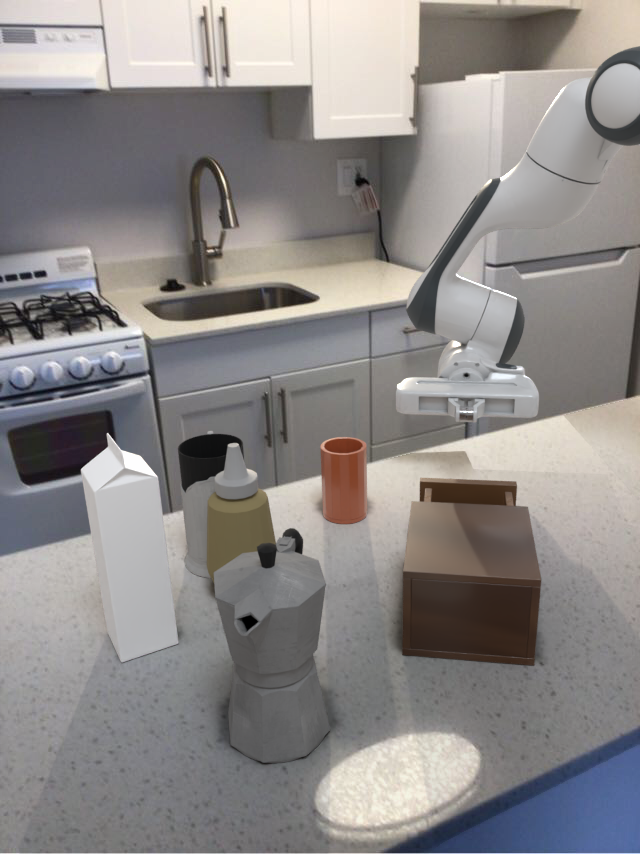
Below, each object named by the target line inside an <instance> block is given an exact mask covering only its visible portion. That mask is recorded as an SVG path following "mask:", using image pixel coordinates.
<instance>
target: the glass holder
mask: <svg viewBox="0 0 640 854" xmlns="http://www.w3.org/2000/svg"><path fill="white" fill-rule="evenodd" d="M231 443H238V444H239V447H240V450H241V453H242V456H243V459H244V460H245V451H244V442H243V440H242V439H241V438H239V437H238V436H236V435H233V434H227V433H214V431H213V430H207V434H201V435H197V436H193V437H190V438H188V439H185V440H184V441H182V442H181V443H180V444H179V445H178V447H177V455H178V462H179V463H178V464H179V472H180V473H179V474H180V480H181V481H180V482H179V485H180V486H179V487H180V494H181V496H180V497H181V504H182V512H183V513H182V514H183V524H184V530H185V541H186V549H187V552H186V556H185V560H184V565H185V567H186V569H187V570H188V572H190V573H191V574H193V575H195V576H198V577H202V578H207V579H211V577H210V575H209V573H208V569H207V507H208V499H209V497H210V496H211V495H212V494H213V493H214V492H216V491H215V483H214V478H215V477H216V475H217V474H218V473H220V472H222V471H224V468H225V461H226V454H227V448H228V444H231Z"/></svg>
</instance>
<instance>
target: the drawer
mask: <svg viewBox="0 0 640 854" xmlns="http://www.w3.org/2000/svg"><path fill="white" fill-rule="evenodd" d="M517 493H518V482H517V481H515V480H514V481H513V480H511V481H510V480H490V479H467V478H466V479H464V478H444V477H442V478H441V477H439V478H438V477H420V478H419V502H440V503H462V504H484V505H506V506H517Z"/></svg>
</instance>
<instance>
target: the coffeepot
mask: <svg viewBox="0 0 640 854" xmlns="http://www.w3.org/2000/svg"><path fill="white" fill-rule="evenodd" d="M303 552H304V538H303V536H302V534H300V532H299V530H297V529H296V528H293V527H290V528H287V529H285V530H284V531H283V533H282V536H280V537H278V539H277V541H276V544H272V543H262V544H260V545H259V546H257V552H249V553H242V554H241V555H239V556H238V557H236V558H235V559H233V560H232V561H230V562H229V563H227V564H226V565H224V566H223V567H221V568H220V569H218V570H217V571H215V572H214V583H213V585H214V597H215V602H216V606H217V610H218V613H219V617H220V620H221V625H222V628H223V631H224V636H225V639H226V643H227V646H228V651H229V654H230V658H231V661H232V662H233V664H232V665H233V666H232V674H231V683H230V693H229V694H230V695H229V703H228V713H227V718H228V730H229V731H228V732H229V744H230V746H232V747H233V748H234V749H236V750H237V751H239V752H240V753H241V754H243V756H245V757H247V758H248V759H249V758H250V759H252V760H254V761H257V762H261V763H263V764H280V763H287V762H291V761H296V760H298V759H301V758H303V757H307V756H308V755H309V754H310V753H312V752H313V751H314V750H315V749H316V748H317V747H318V746H319V745H320V744H321V743H322V741H323V740H324V739H325V737H326V736H327V734H328V733H329V732H330V731H331V726H330V721H329V717H328V713H327V709H326V704H325V700H324V696H323V691H322V687H321V681H320V678H319V674H318V669H317V665H316V660H315V657H314V654H315V652H316V651H318V647H319V638H320V632H321V623H322V617H323V609H324V601H325V595H326V594H325V593H326V586H327V582H326V579H325V576H324V573H323V570H322V566H321V564H320V560H319V559H316V558H313V557H310V556H308V555H305V554H303Z"/></svg>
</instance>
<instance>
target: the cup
mask: <svg viewBox="0 0 640 854" xmlns="http://www.w3.org/2000/svg"><path fill="white" fill-rule="evenodd" d="M319 446H320V448H319V449H320V472H321V473H320V474H321V499H322V516H323V518H324V519H325V520H326V521H328V522H330V523H334V524H339V525H350V524H355V523H358V522H359V523H360V522H361V521H363V520H364V519H365V518H366V517H367V516H368V469H367V468H368V459H367V457H368V453H367V447H368V446H367V443H366V442H365V441H364V440H363V439H359V438H357V437H349V436H338V437H337V436H336V437H331V438H329V439H325V440H324V441H323V442H322V443H321V444H320V445H319Z"/></svg>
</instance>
